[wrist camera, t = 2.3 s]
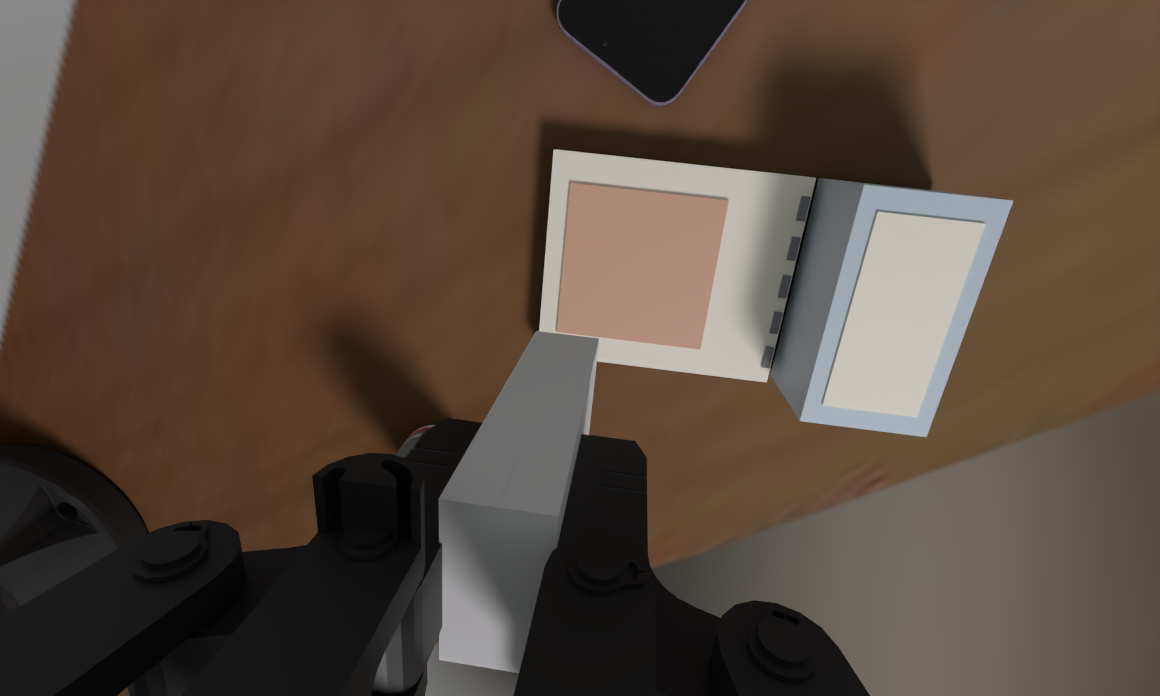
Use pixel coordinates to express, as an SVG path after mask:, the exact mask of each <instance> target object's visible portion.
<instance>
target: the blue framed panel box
mask: <svg viewBox="0 0 1160 696" xmlns="http://www.w3.org/2000/svg"><path fill="white" fill-rule="evenodd" d="M1012 203H1013V201H1011V200H1003V199H996V198H988V197H981V196H973V195H965V194H958V193H950V192H942V191H934V190H925V189H916V188H907V187H897V186H888V185H879V184H870V183H861V182H851V181H842V180H833V179H824V178H818V182H817V186H816V190H815V194H814V198H813V203H812V207H811V211H810V215H809V219H808V223H807V227H806V231H805V235H804V240H803V244H802V248H801V252H800V256H799V260H798V264H797V268H796V272H795V277H794V281H793V285H792V289H791V293H790V297H789V301H788V305H787V309H786V314H785V318H784V322H783V326H782V330H781V334H780V338H779V342H778V346H777V350H776V355H775V359H774V363H773V367H772V371H771V377H772V378H773V380H774V382H775V383H776V385H777V386H778V388H779V389H780V391H781V392H782V394H783V396H784V397H785V399H786V400H787V402H788V403H789V405H790V407H791V408H792V410H793V411H794V413H795V414H796V416H797V417H798V419H799V421H804V422H811V423H819V424H827V425H835V426H843V427H851V428H859V429H867V430H874V431H882V432H890V433H898V434H906V435H914V436H922V437H927V434H928V431H929V429H930V426H931V423H932V420H933V418H934V415H935V412H936V410H937V407H938V404H939V401H940V399H941V396H942V393H943V390H944V388H945V385H946V382H947V380H948V377H949V374H950V371H951V369H952V366H953V363H954V361H955V358H956V355H957V352H958V350H959V347H960V344H961V342H962V339H963V336H964V333H965V331H966V328H967V325H968V323H969V320H970V317H971V314H972V312H973V309H974V306H975V304H976V301H977V298H978V295H979V293H980V290H981V287H982V284H983V282H984V279H985V276H986V274H987V271H988V268H989V265H990V263H991V260H992V257H993V255H994V252H995V249H996V246H997V244H998V241H999V238H1000V236H1001V233H1002V230H1003V227H1004V225H1005V222H1006V219H1007V217H1008V214H1009V211H1010V208H1011V206H1012Z"/></svg>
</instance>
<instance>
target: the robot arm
mask: <svg viewBox="0 0 1160 696" xmlns="http://www.w3.org/2000/svg"><path fill="white" fill-rule="evenodd" d="M598 345H599V338H591V337H583V336H575V335H566V334H558V333H550V332H541V331H536V332H535V334H534V335H533V337H532V339H531V341H530V342H529V344H528V346H527V347H526V349H525V351H524V353H523V354H522V356H521V358H520V359H519V361H518V363H517V365H516V366H515V368H514V370H513V372H512V373H511V375H510V377H509V378H508V380H507V382H506V384H505V385H504V387H503V389H502V391H501V392H500V394H499V396H498V397H497V399H496V401H495V403H494V404H493V406H492V408H491V409H490V411H489V413H488V415H487V416H486V418H485V420H484V422H483V423H480V422H473V421H465V420H458V419H450V418H447V419H446V420H444V421H442V422H440V423H438V424H437V425H435V426H433V427H431V428H430V429H428V430H427V431H426V432H425V433H424V435H423V436H422V437H421V438H420V440H419V441H418V442H417V444H416V445H415V448H414V449H412V450H411V452H410V453H409V454H408V456H407V457H406V458H404V457H400V456H396V455H393V454H377V453H368V454H362V455H357V456H351V457H347V458H344V459H341V460H339V461H336V462H334V463H331V464H328V465H327V466H325V467H324V468H323V469H321V470H320V471H318V472H317V473H316V474H314V475H313V486H314V496H315V506H316V515H317V525H318V533H317V534H316V535H315V536H314V538H313V539H312V540H311V541H310V542H309V544H308V545H304V546H298V547H292V548H282V549H270V550H259V551H248V552H242V548H241V543H240V538H239V534H238V532H237V531H236V530H235V529H233V528H232V527H230V526H229V525H228V524H226V523H221V522H215V521H210V520H202V521H189V522H182V523H178V524H174V525H170V526H167V527H163V528H159V529H157V530H154V531H152V532H150V533H147V531H146V529H145V527H144V525H143V523H142V521H141V519H140V517H139V516H138V514H137V513H136V511H135V510H134V509H133V507H132V506H131V505H130V503H129V502H128V501H127V500H126V499H125V497H124V496H123V495H122V494H121V493H120V492H119V491H118V490H117V489H116V488H115V487H114V486H113V485H111V484H110V483H109V482H108V481H107V480H105V479H104V478H103V477H102V476H100V475H99V474H97V473H96V472H95V471H93V470H92V469H90V468H88V467H87V466H85V465H83V464H82V463H80V462H78V461H76V460H74V459H72V458H70V457H68V456H65V455H63V454H61V453H58V452H55V451H52V450H49V449H45V448H41V447H37V446H31V445H23V444H6V445H0V696H117V695H118V694H119V693H121V692H122V691H123V690H124V689H126V688H128V691H129V695H130V696H425V691H426V685H427V662H428V659H429V656H430V655H431V652H432V650H433V648H434V645H435V643H436V640H437V638H438V636H439V660H444V661H449V662H455V663H461V664H467V665H473V666H479V667H486V668H491V669H498V670H503V671H510V672H515V673H519V676H518V680H517V684H516V689H515V693H514V696H870V695H869V694H868V692H867V691H866V689H865V687H864V686H863V684H862V683H861V681H860V680H859V678H858V677H857V675H856V674H855V672H854V671H853V669H852V668H851V666H850V664H849V663H848V661H847V660H846V658H845V657H844V655H843V654H842V652H841V650H840V649H839V647H838V646H837V645H836V644H835V643H834V642H833V641H832V640H831V638H830V637H829V636H828V635H827V634H826V632H825V631H824V630H823V629H822V628H821V627H820V626H818V625H817V624H815V623H814V622H813V621H811V620H810V619H808V618H807V617H805V616H804V615H802V614H801V613H800V612H797V611H794V610H792V609H790V608H787V607H784V606H782V605H780V604H777V603H770V602H762V601H750V602H745V603H741V604H736V605H734V606H733V607H732V608H731V609H730V610H728V611H727V612H726V613H725V614H724V615H722V618H719V617H717V616H714V615H712V614H709V613H707V612H705V611H703V610H700V609H698V608H696V607H693V606H692V605H689V604H688V603H686V602H684V601H682V600H680V599H678V598H677V597H676V596H675V595H673V594H672V593H671V592H669V591H668V590H667V589H666V588H665V587H664V586H663V585H662V584H661V583H660V582H659V580H658V579H657V578H656V577H655V575H654V573H653V571H652V569H651V567H650V564H649V559H648V540H647V479H646V478H647V458H646V456H645V455H644V453H643V452H642V450H641V449H640V448H639V446H638V445H637V443H636V442H635V441H630V440H623V439H615V438H608V437H600V436H593V435H589V429H590V419H591V410H592V401H593V391H594V382H595V373H596V363H597V354H598Z"/></svg>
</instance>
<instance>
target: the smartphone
mask: <svg viewBox="0 0 1160 696" xmlns="http://www.w3.org/2000/svg"><path fill="white" fill-rule="evenodd" d="M747 1H748V0H559V2H558V5H557V10H556V15H557V21H558V24H559V26H560V28H561V30H562V32H563V33H564V34H565V35H566V36H567V37H568V38H569V39H570V40H571V41H572V42H574V43H575V44H576V45H577V46H579V47H580V48H581V49H582V50H584V51H585V52H586V53H587V54H589V55H590V56H591V57H592V58H593V59H595V60H596V61H597V62H598V63H600V64H601V65H602V66H603V67H605V68H606V69H607V70H608V71H610V72H611V73H612V74H613V75H615V76H616V77H617V78H618V79H620V80H621V81H622V82H623V83H624V84H626V85H627V86H628V87H629V88H631V89H632V90H633V91H634V92H636V93H637V94H638V95H639V96H641V97H642V98H643V99H644V100H646V101H647V102H649V103H650V104H653V105H656V106H664V105H667V104H669V103H671V102H673V101H674V100H675V99H676V98H677V97H678V96H679V95H680V93H681V92H682V91H683V89H684V88H685V87H686V85H687V84H688V82H689V81H690V80H691V78H692V77H693V76H694V74H695V73H696V71H697V70H698V69H699V67H700V68H701V66H702V65H703V63H704V62H705V61H706V59H707V58H706V57H707V56H708V55H709V53H710V52H711V51H712V49H714V48H715V46H716V45H717V44H718V42H719V41H720V39H721V38H722V37H723V35H724V34H725V32H726V31H727V30H728V29H727V28H728V27H729V26H730V24H732V23H733V21H734V20H735V19H736V17H737V16H738V14H739V13H740V12H741V10H742V9H743V8H744V6H745V5H746V2H747Z"/></svg>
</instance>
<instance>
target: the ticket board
mask: <svg viewBox="0 0 1160 696" xmlns="http://www.w3.org/2000/svg"><path fill="white" fill-rule="evenodd" d="M815 181H816V178H813V177H806V176H797V175H788V174H779V173H770V172H760V171H751V170H742V169H733V168H724V167H715V166H705V165H696V164H687V163H678V162H669V161H659V160H650V159H641V158H632V157H623V156H614V155H604V154H595V153H586V152H577V151H568V150H559V149H554V150H553V163H552V175H551V188H550V200H549V213H548V226H547V238H546V251H545V263H544V276H543V288H542V301H541V314H540V326H539V331H541V332H550V333H558V334H566V335H575V336H583V337H591V338H599V345H598V354H597V361H599V362H607V363H615V364H623V365H631V366H639V367H647V368H655V369H663V370H671V371H679V372H687V373H695V374H703V375H711V376H719V377H727V378H735V379H743V380H751V381H759V382H767V380H768V375H769V371H770V367H771V363H772V359H773V355H774V351H775V346H776V342H777V338H778V334H779V330H780V326H781V322H782V318H783V313H784V309H785V305H786V301H787V297H788V293H789V289H790V285H791V280H792V276H793V272H794V268H795V264H796V260H797V256H798V251H799V247H800V243H801V239H802V235H803V231H804V227H805V223H806V218H807V214H808V210H809V206H810V202H811V198H812V194H813V189H814V185H815Z"/></svg>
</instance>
